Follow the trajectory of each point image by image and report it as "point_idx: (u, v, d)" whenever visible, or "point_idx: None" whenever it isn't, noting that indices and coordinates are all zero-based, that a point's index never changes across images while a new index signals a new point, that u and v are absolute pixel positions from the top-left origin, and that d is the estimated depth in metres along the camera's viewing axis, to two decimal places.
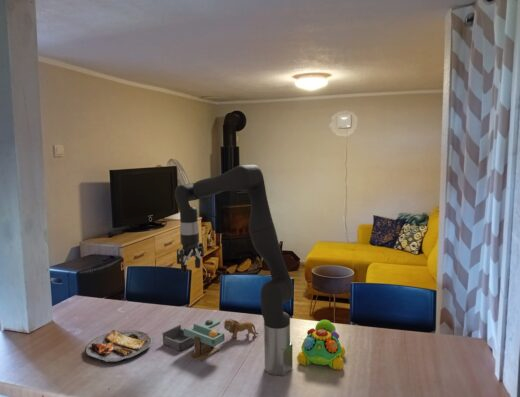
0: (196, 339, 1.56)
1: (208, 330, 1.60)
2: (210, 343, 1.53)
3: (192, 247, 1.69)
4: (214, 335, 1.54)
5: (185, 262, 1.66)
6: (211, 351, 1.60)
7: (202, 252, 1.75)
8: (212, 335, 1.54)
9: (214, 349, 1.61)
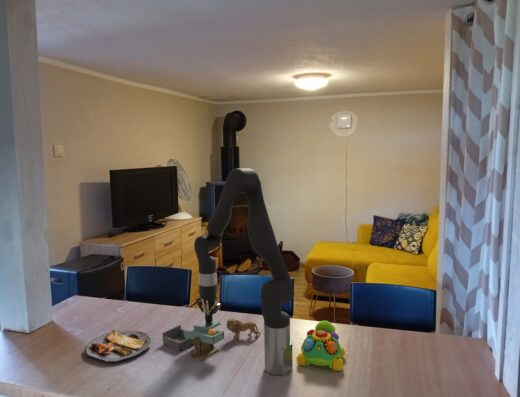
0: (196, 339, 1.56)
1: (208, 330, 1.60)
2: (210, 341, 1.53)
3: None
4: (212, 332, 1.55)
5: None
6: (211, 351, 1.60)
7: None
8: (210, 333, 1.55)
9: (214, 349, 1.61)
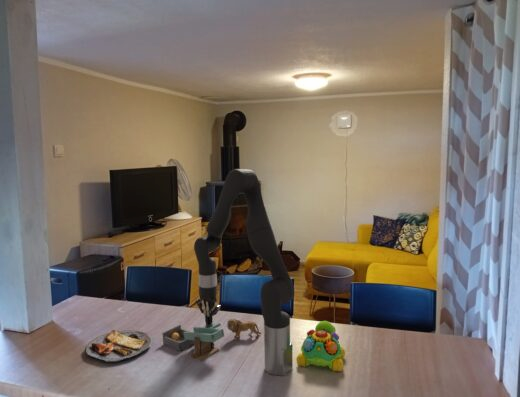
0: (196, 339, 1.56)
1: (207, 330, 1.60)
2: (209, 339, 1.53)
3: None
4: (173, 334, 1.69)
5: None
6: (211, 351, 1.60)
7: None
8: (172, 335, 1.69)
9: (214, 349, 1.61)
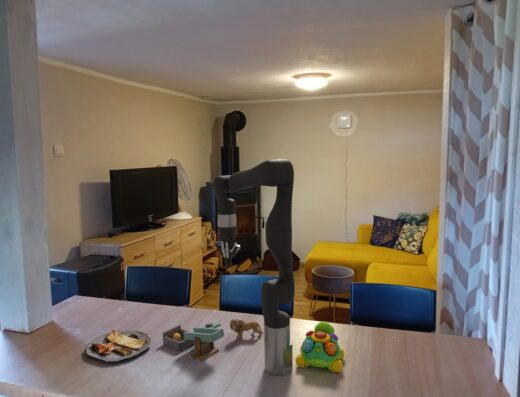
0: (196, 339, 1.56)
1: (207, 330, 1.60)
2: (209, 339, 1.53)
3: None
4: (175, 334, 1.68)
5: None
6: (211, 351, 1.60)
7: None
8: (174, 336, 1.68)
9: (214, 349, 1.61)
